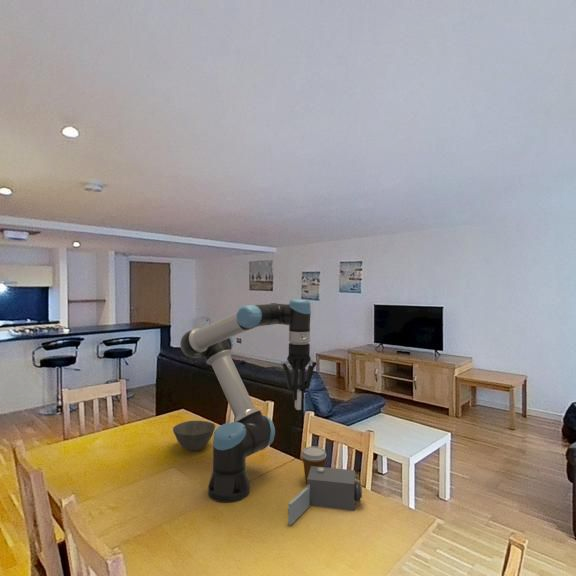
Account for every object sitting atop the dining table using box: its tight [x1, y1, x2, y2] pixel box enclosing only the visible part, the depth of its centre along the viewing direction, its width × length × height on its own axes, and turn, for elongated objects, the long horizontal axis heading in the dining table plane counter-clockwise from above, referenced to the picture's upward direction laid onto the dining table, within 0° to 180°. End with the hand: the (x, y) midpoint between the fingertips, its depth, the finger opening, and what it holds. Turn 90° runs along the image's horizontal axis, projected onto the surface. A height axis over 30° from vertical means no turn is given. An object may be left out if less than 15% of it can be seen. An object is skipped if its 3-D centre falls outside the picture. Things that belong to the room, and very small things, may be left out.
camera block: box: [306, 466, 363, 512], centre depth 140 cm, size 18×10×10 cm, turn 79°
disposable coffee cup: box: [301, 445, 327, 485], centre depth 152 cm, size 10×10×12 cm
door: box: [287, 484, 311, 526], centre depth 130 cm, size 13×2×7 cm, turn 149°
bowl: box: [172, 420, 216, 452], centre depth 182 cm, size 19×19×10 cm
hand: (297, 408), depth 142 cm, fingers closed
